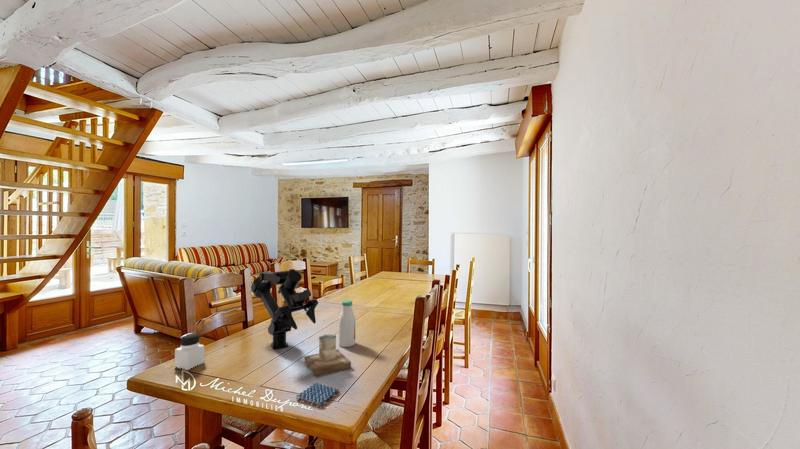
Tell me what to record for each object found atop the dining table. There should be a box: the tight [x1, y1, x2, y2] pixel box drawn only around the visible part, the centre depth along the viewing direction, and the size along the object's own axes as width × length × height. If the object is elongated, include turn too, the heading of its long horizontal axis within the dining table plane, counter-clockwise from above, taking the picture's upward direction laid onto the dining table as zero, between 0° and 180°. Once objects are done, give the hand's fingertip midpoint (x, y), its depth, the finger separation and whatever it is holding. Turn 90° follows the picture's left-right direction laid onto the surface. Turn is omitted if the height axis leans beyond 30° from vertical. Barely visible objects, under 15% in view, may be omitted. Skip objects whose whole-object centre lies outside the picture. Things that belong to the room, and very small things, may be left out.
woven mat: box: [296, 382, 341, 409], centre depth 104 cm, size 10×11×2 cm
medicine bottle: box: [174, 332, 206, 371], centre depth 125 cm, size 7×7×12 cm
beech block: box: [318, 332, 337, 362], centre depth 126 cm, size 4×5×9 cm
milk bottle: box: [337, 300, 356, 348], centre depth 147 cm, size 8×8×20 cm
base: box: [304, 348, 352, 378], centre depth 126 cm, size 14×14×3 cm
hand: (306, 325), depth 132 cm, fingers open, 9 cm apart
